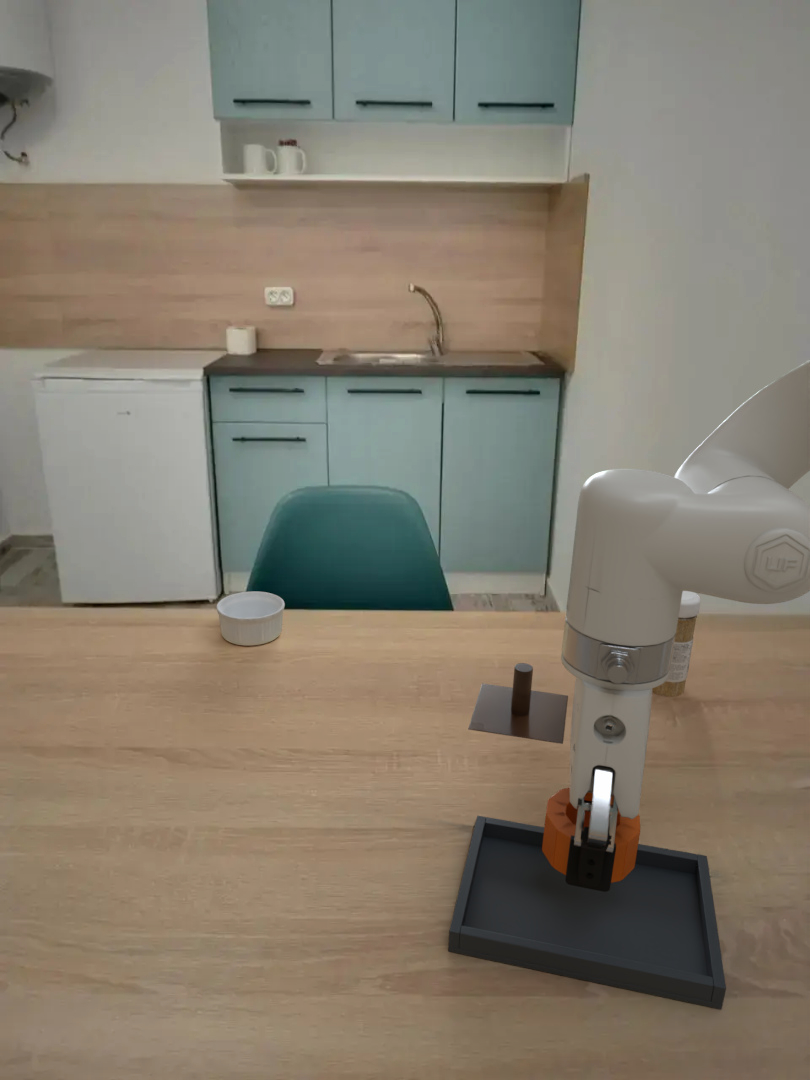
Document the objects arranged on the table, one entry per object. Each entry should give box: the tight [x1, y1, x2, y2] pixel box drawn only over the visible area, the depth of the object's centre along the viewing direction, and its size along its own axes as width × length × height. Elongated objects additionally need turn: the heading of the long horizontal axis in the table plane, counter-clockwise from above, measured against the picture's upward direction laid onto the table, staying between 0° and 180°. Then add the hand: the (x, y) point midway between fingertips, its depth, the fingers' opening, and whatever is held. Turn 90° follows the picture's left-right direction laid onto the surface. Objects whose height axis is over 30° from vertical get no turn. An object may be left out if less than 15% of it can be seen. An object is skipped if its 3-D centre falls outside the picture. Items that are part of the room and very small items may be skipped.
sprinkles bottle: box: [652, 591, 701, 698], centre depth 95 cm, size 5×5×14 cm
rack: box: [468, 662, 569, 745], centre depth 91 cm, size 10×10×7 cm
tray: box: [447, 815, 727, 1010], centre depth 66 cm, size 20×14×2 cm
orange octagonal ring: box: [542, 787, 641, 883], centre depth 64 cm, size 7×7×4 cm
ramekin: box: [216, 590, 286, 647], centre depth 110 cm, size 9×9×4 cm
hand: (589, 848), depth 64 cm, fingers closed on orange octagonal ring, 7 cm apart
